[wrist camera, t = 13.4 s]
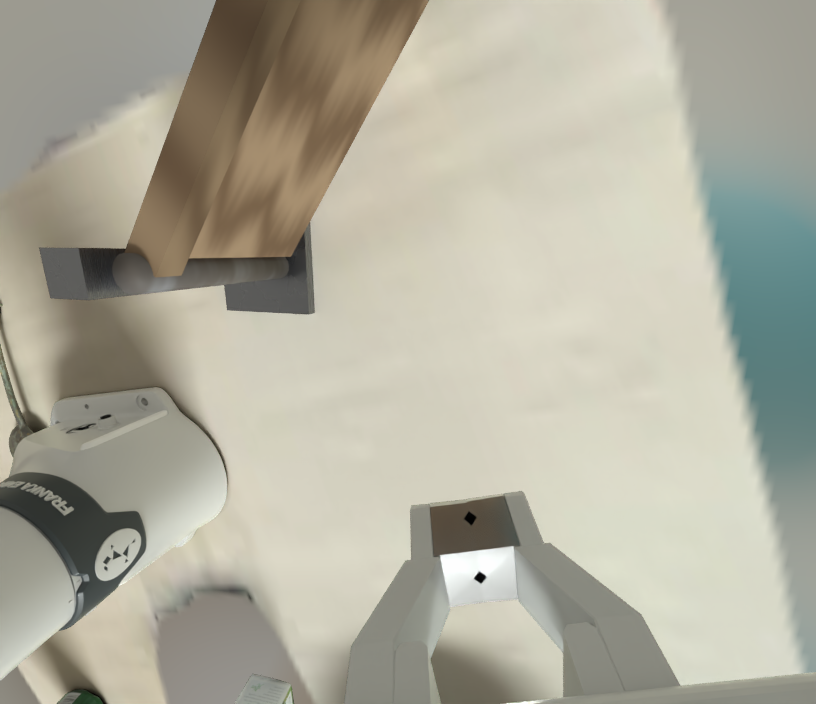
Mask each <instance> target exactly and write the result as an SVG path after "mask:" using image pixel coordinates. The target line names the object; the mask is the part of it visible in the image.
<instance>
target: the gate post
mask: <svg viewBox="0 0 816 704" xmlns="http://www.w3.org/2000/svg"><path fill="white" fill-rule="evenodd" d="M39 249H40V254H41V258H42V263H43V267H44V272H45V276H46V280H47V285H48V289H49V294H50V298H56V299H76V300H94V299H103V298H112V297H121V296H130V294H127V293H125V292H124V291H122V290H121V289H120V288H119V287H118V285H117V284H116V282H115V280H114V277H113V272H112V266H113V262H114V260H115V258H116V257H117V256H118V255H119V254H122V253H125V250H126V249H111V248H39ZM285 258H286V259H287V261H288V264H289V271H288V273H287V275H286V276H285V277H283V278H279V279H271V280H262V281H253V282H244V283H235V284H226V285H224V286H225V295H226V304H227V310H234V311H253V312H272V313H292V314H312V313H314V293H313V274H312V254H311V235H310V222H309V224H308V226H307V228H306V230H305V231H304V233H303V235H302V237H301V239H300V241H299V243H298V244H297V246H296V248H295V250H294V252H293V254H292V256H291V257H285ZM217 286H218V285H217ZM208 287H209V286H208ZM200 288H201V287H200ZM191 289H192V288H191ZM182 290H183V289H182ZM173 291H174V290H173ZM164 292H165V291H164ZM155 293H156V292H155ZM146 294H147V293H146ZM137 295H139V294H137Z"/></svg>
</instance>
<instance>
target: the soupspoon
mask: <svg viewBox="0 0 816 704" xmlns="http://www.w3.org/2000/svg"><path fill="white" fill-rule="evenodd" d="M1 306H3V305H2V304H0V307H1ZM0 372H1V376H2V379H3V383H4V386H5V390H6V394H7V397H8V400H9V403H10V406H11V408H12V411H13V413H14V416H15V418H16V420H17V423H18V425H17V426H16V427H15V428H14V429H13V430H12V432H11V434H10V438H9V447H10V452H11V454H12V456H13V458H14V453H15V450H16V448H17V446H18V444H19V443H20V442H21V440H22V439H24V438H25V437H27V436H29V435H31V434H33V433H34V432H33V431H32V430H31V429H30V428H29V427H28V426H27V424H26V422H25V420H24V417H23V415H22V413H21V411H20V408H19V406H18V403H17V401H16V398H15V395H14V392H13V388H12V385H11V382H10V378H9V375H8V372H7V368H6V364H5V361H4V357H3V353H2V349H1V345H0Z"/></svg>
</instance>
